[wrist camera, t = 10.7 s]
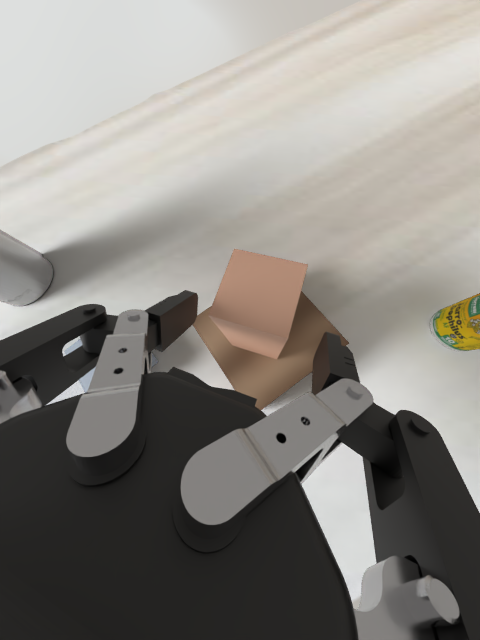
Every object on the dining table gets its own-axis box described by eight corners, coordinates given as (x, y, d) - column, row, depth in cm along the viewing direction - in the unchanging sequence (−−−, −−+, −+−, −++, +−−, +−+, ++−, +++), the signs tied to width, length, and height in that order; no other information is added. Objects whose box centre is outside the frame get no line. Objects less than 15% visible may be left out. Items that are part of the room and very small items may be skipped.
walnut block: (205, 332, 29) (190, 320, 23) (272, 285, 30) (274, 262, 24) (255, 408, 25) (252, 416, 19) (330, 351, 26) (349, 343, 20)
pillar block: (232, 345, 22) (208, 315, 12) (246, 305, 23) (234, 248, 13) (276, 359, 21) (288, 338, 11) (288, 316, 22) (308, 264, 12)
